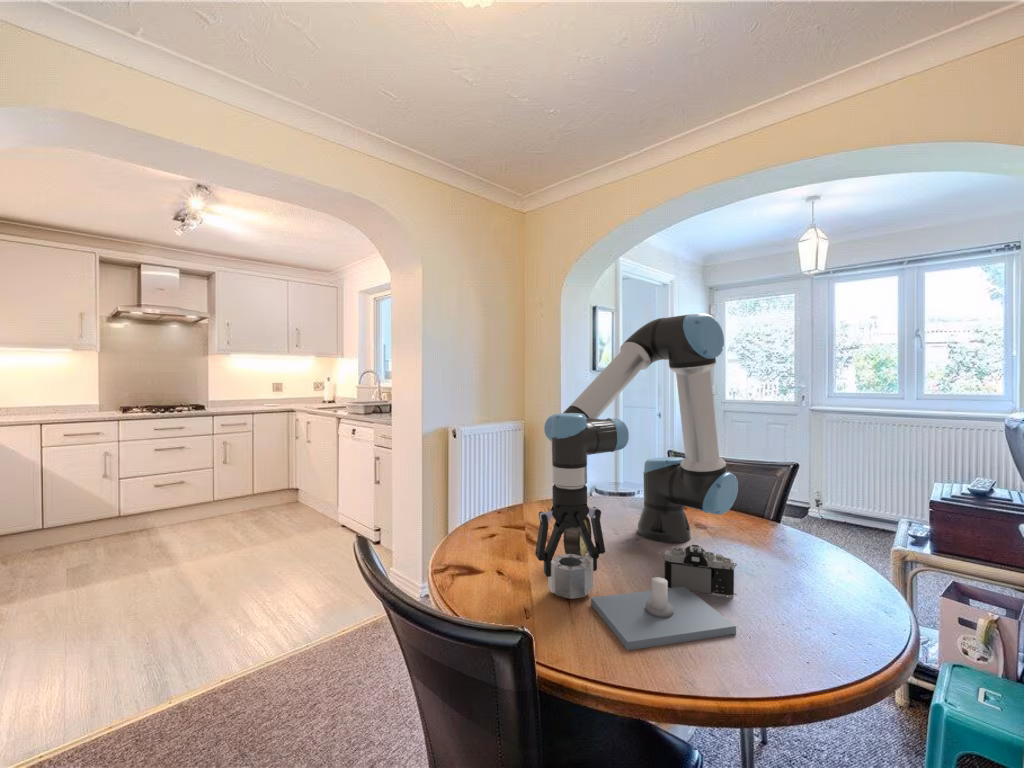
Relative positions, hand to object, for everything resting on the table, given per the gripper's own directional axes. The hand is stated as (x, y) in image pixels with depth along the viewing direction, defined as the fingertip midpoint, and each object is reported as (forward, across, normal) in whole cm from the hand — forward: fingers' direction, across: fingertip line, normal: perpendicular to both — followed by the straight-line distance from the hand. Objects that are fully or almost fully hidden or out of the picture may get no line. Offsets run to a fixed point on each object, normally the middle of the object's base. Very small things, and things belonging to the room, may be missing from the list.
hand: (570, 587), depth 98 cm
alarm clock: (+2, -8, -16) cm, 18 cm away
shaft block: (+2, -14, +13) cm, 19 cm away
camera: (+2, -30, +3) cm, 30 cm away
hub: (0, 0, 0) cm, 0 cm away
